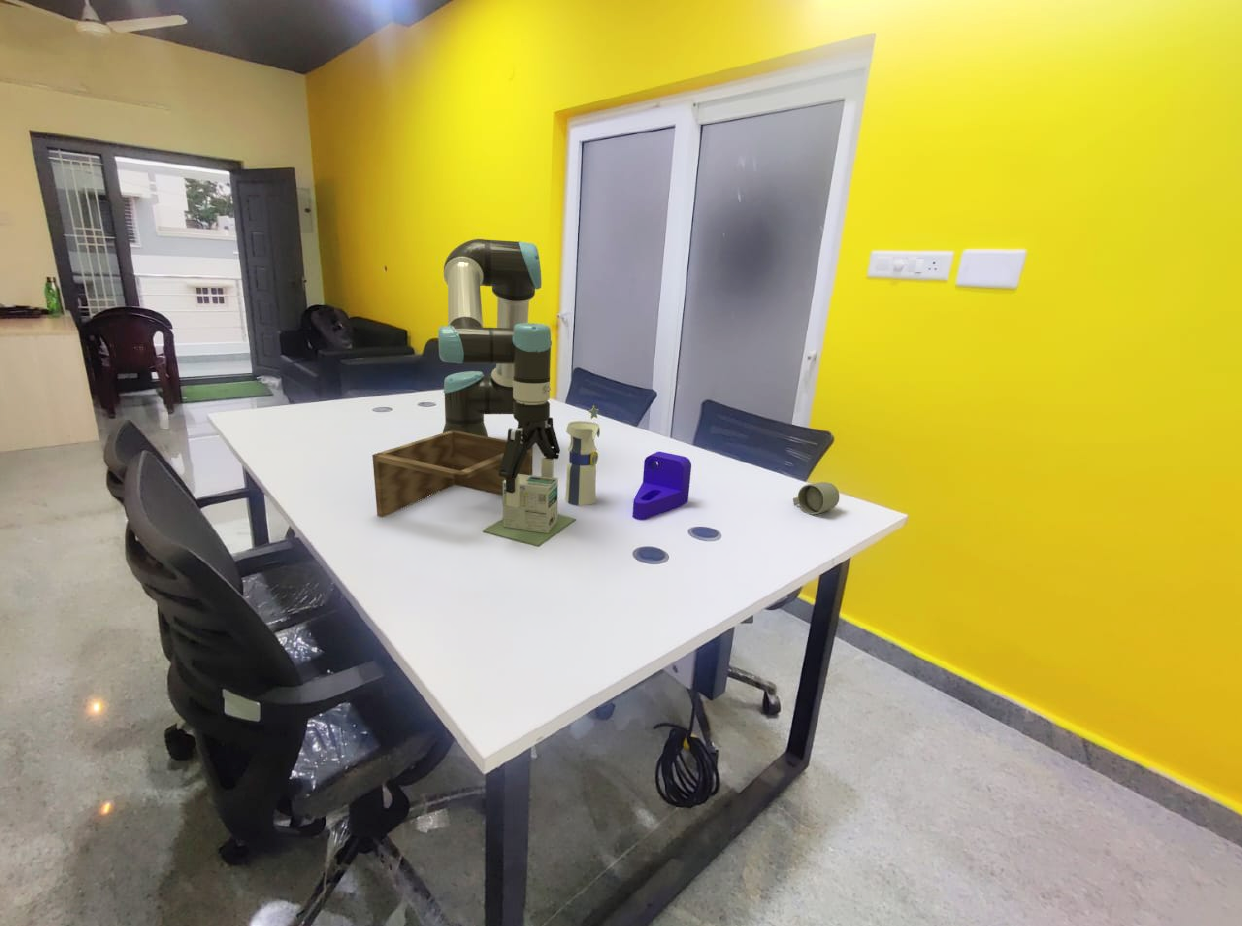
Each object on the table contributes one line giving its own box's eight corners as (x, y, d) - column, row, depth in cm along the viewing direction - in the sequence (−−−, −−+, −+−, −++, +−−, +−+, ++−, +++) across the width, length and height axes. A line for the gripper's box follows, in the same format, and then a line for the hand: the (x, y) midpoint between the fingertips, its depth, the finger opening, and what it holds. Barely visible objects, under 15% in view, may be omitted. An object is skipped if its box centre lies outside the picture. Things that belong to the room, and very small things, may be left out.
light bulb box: (558, 522, 130) (559, 477, 127) (548, 534, 124) (549, 487, 120) (513, 516, 132) (512, 471, 129) (501, 528, 126) (501, 481, 122)
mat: (524, 507, 138) (524, 506, 138) (575, 520, 133) (575, 518, 133) (482, 532, 124) (482, 530, 124) (538, 547, 119) (538, 545, 119)
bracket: (649, 492, 153) (652, 450, 149) (687, 502, 148) (691, 458, 144) (616, 514, 138) (619, 467, 134) (657, 525, 133) (661, 477, 129)
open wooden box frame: (454, 482, 152) (452, 429, 147) (532, 500, 143) (532, 445, 138) (377, 515, 129) (372, 454, 125) (463, 539, 120) (461, 475, 116)
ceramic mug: (839, 512, 147) (844, 483, 144) (821, 519, 142) (826, 489, 139) (803, 499, 154) (807, 472, 152) (785, 505, 149) (788, 477, 147)
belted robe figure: (603, 497, 147) (608, 401, 140) (587, 508, 140) (591, 407, 132) (575, 491, 150) (578, 396, 143) (558, 501, 143) (560, 402, 135)
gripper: (512, 415, 107) (512, 519, 114) (576, 393, 129) (573, 481, 136) (479, 409, 110) (481, 511, 117) (547, 388, 132) (546, 475, 139)
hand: (530, 495), depth 127 cm, fingers open, 13 cm apart
